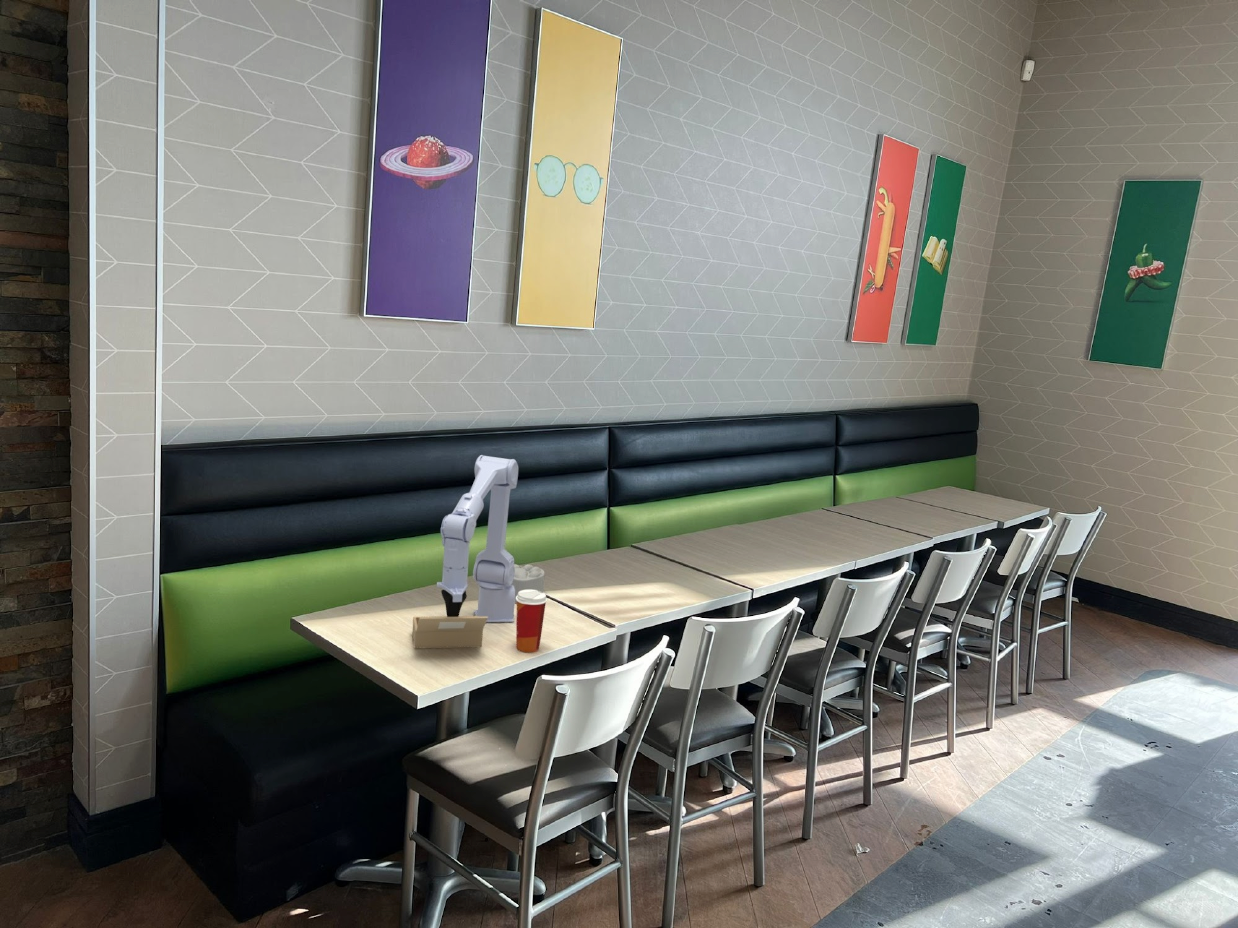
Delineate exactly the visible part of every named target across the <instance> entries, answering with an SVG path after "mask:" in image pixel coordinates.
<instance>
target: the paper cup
mask: <svg viewBox="0 0 1238 928" xmlns="http://www.w3.org/2000/svg"><path fill="white" fill-rule="evenodd" d="M516 600H517V604H516V625H515V626H516V627H515V628H516V630H515V631H516V634H515V639H516V641H515V642H516V643H515V645H516V646H515V647H516V649H517V651H519V652H522V653H525V654H526V653H529V654H530V653H535V652H536V653H537V652H538V651H539V649H540V645H541V639H542V632H543V625H544V619H545V618H544V616H545V610H546V603H547V602H548V598H547V594H546V593H545V592H544V591H543V592H540V591H538V590H522V591H519V592H518V595H517V596H516Z"/></svg>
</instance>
